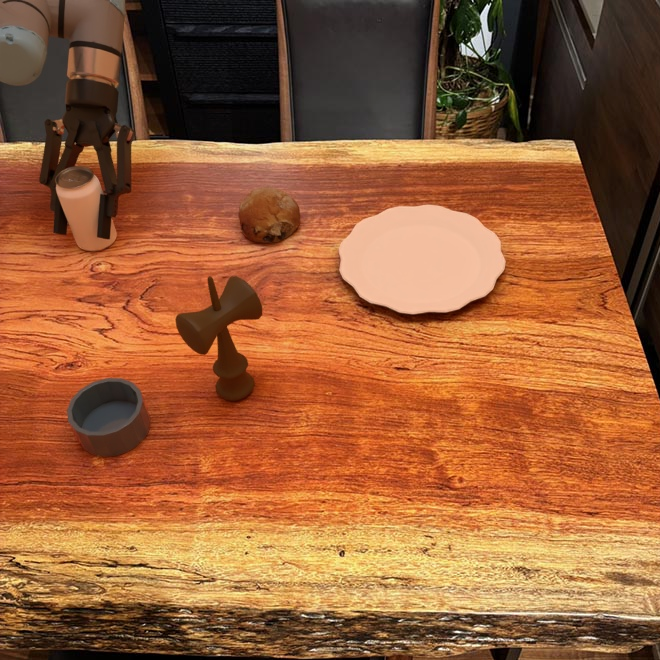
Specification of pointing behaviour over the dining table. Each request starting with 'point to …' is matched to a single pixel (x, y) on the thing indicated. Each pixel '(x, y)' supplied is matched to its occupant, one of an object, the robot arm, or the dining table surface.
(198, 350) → the kendama
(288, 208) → the bread roll
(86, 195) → the can
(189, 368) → the dining table surface
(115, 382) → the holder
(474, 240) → the plate
